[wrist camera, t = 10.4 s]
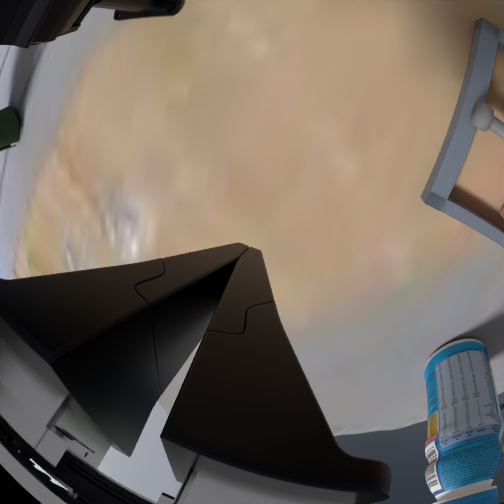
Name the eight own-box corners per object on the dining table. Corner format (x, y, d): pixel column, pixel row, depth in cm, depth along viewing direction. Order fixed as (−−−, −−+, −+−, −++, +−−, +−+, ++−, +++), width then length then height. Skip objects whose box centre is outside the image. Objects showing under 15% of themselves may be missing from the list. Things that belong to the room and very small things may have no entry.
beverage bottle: (465, 323, 21) (486, 520, 5) (496, 350, 21) (514, 508, 6) (408, 365, 26) (396, 538, 10) (445, 386, 27) (442, 530, 11)
